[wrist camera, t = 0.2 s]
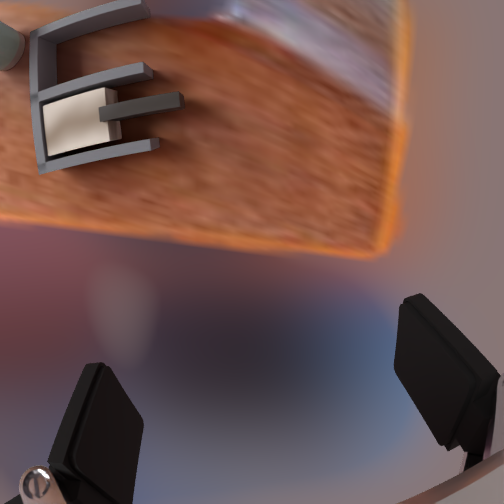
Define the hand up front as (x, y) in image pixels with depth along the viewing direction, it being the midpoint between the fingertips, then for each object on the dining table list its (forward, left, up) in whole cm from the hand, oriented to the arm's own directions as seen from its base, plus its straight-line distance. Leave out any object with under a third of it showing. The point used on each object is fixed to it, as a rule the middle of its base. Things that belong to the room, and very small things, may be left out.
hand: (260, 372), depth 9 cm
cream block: (-10, -12, -30) cm, 34 cm away
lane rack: (-15, -15, -30) cm, 37 cm away
